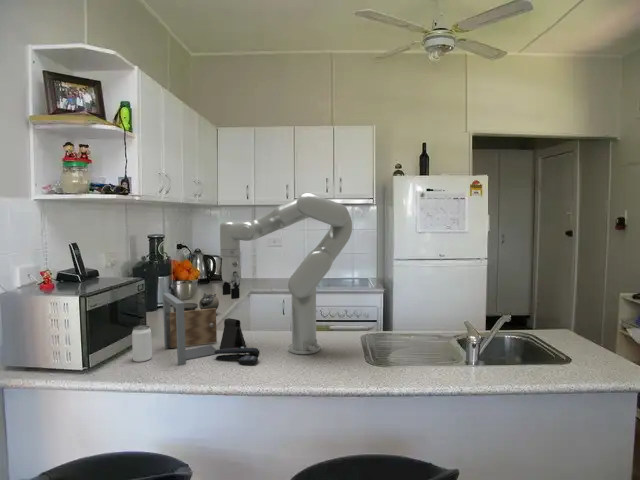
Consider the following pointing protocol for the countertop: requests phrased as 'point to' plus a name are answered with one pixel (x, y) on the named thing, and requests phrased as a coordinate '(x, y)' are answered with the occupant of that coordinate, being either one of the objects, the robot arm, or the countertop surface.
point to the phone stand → (232, 335)
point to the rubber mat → (200, 352)
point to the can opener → (239, 355)
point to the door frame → (180, 324)
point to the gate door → (193, 327)
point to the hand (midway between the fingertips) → (230, 296)
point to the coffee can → (189, 307)
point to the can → (142, 343)
